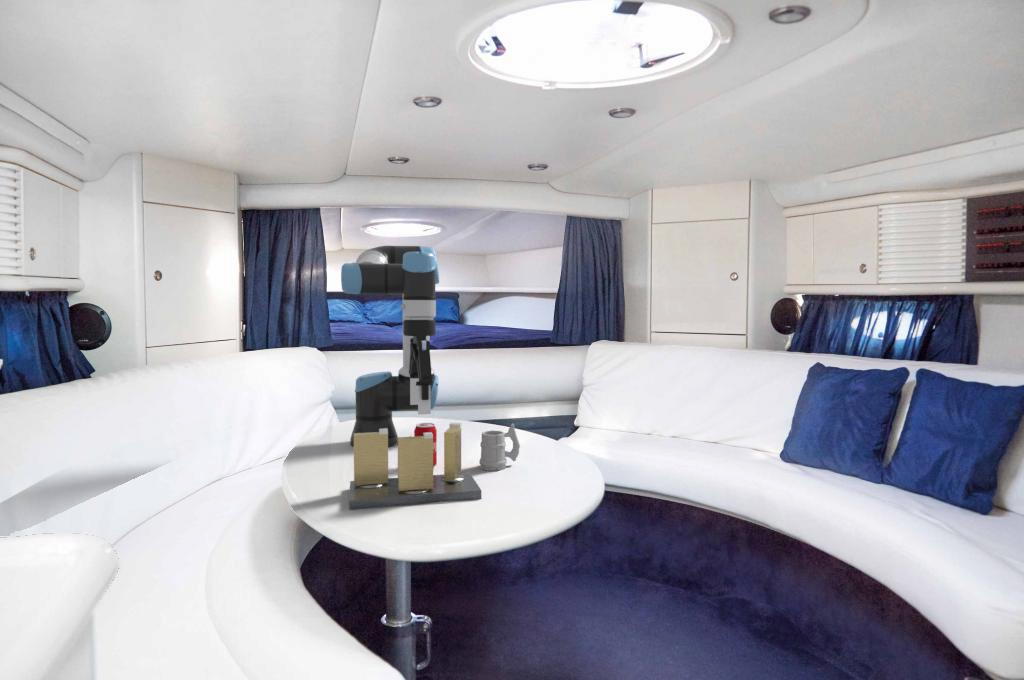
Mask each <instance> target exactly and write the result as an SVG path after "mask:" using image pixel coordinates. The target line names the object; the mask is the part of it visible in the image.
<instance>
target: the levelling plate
mask: <svg viewBox="0 0 1024 680" xmlns="http://www.w3.org/2000/svg"><path fill="white" fill-rule="evenodd" d="M348 498H349V502H348V506H349V510H350V511H351V510H360V509H363V510H364V509H374V508H376V509H377V508H387V507H388V508H389V507H396V506H397V507H398V506H410V505H420V504H434V503H444V502H445V503H446V502H456V501H457V502H458V501H459V502H460V501H468V500H471V501H472V500H480V499H481V500H482V489H481V487H480V485H478V483H477V481H476V480H475V478H474V477H473V476H472V474H471V472H461V473H460V475H459V476H458V477H457V479H456V480H455V481H444V473H443V474H433V488H432V489H419V490H406V491H399V490H398V477H388V483H378V484H365V485H354V480H351V481H349V497H348Z"/></svg>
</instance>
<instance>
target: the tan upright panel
mask: <svg viewBox="0 0 1024 680" xmlns="http://www.w3.org/2000/svg"><path fill="white" fill-rule="evenodd" d="M448 425H449V427H448V428H447V429H446V430H445V431H444V433H443V443H444V444H443V447H444V448H443V451H444V452H443V455H444V456H443V457H444V459H443V461H444V462H443V464H444V465H443V466H444V467H443V471H444V473H443V474H444V481H455V480H456V479H457V477H458V476H459V475H460V473H462V422H450V423H449V424H448Z"/></svg>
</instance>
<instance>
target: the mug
mask: <svg viewBox="0 0 1024 680" xmlns="http://www.w3.org/2000/svg"><path fill="white" fill-rule="evenodd" d="M505 438H510V440H511V441H512V448H511V451H508V450H506V445H507V444H506V439H505ZM480 447H481V449H480V458H479V465H480V469H482V470H485V471H489V472H490V471H491V472H492V471H493V472H495V471H501V470H504V469H506V466H507V462H508V460H507V458H509V459H510V460H511V461H513V462H516V460H517V458H518V456H519V455H520V447H521V444H520V442H519V439H518V436H517V432H516V430H515V424H514V423H511V424H510V426H509V428H508V430H507V432H504V431H501V430H485V431H483V432H482V433H481V442H480Z"/></svg>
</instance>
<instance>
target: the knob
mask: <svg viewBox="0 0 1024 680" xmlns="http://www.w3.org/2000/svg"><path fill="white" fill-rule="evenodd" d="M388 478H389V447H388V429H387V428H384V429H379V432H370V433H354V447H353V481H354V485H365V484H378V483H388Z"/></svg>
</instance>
